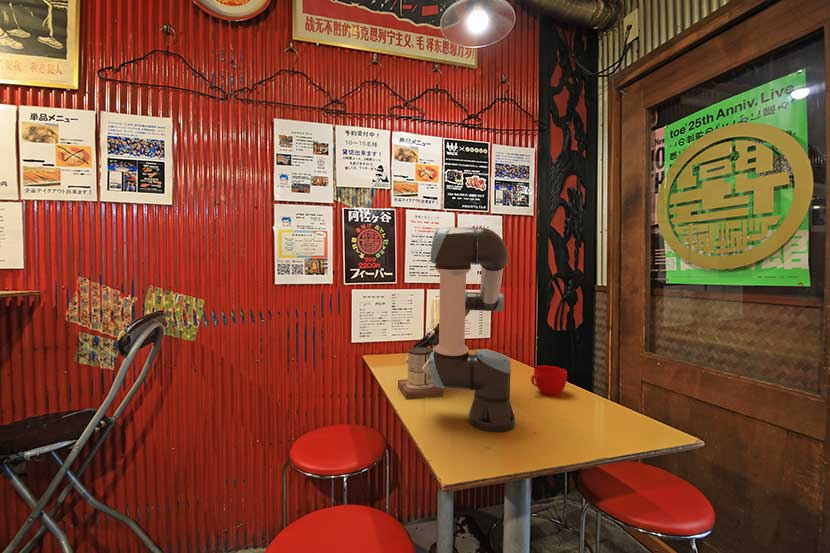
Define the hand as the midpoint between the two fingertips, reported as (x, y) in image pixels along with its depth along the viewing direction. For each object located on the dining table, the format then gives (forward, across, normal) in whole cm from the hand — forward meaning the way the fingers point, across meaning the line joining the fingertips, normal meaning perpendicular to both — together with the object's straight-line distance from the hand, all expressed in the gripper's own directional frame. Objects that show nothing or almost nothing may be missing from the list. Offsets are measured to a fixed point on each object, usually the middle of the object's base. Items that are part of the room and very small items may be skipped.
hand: (415, 366), depth 146 cm
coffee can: (+4, 0, -7) cm, 8 cm away
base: (+6, 0, -9) cm, 11 cm away
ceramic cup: (-26, -27, -42) cm, 56 cm away
